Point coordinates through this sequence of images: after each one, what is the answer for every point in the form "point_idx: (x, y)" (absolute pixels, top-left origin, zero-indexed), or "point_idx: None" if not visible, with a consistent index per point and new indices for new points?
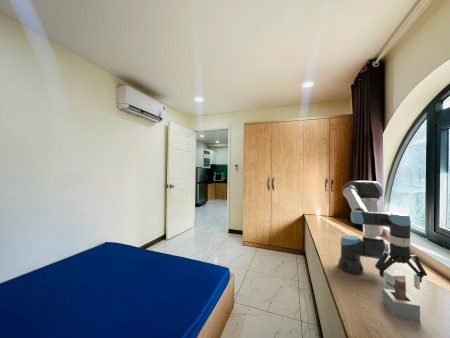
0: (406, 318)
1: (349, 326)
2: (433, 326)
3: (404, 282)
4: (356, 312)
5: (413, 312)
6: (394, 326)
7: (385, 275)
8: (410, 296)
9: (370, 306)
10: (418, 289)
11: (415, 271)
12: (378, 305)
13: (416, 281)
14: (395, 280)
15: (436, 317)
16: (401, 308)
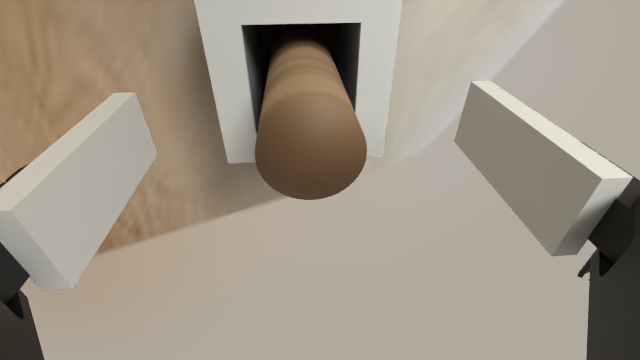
0: None
1: None
2: (401, 128)
3: (354, 162)
4: None
5: None
6: (217, 187)
7: (99, 236)
8: (395, 51)
9: (121, 69)
10: (460, 143)
11: (591, 334)
12: (174, 37)
13: (502, 171)
14: (259, 152)
15: (484, 42)
16: None
